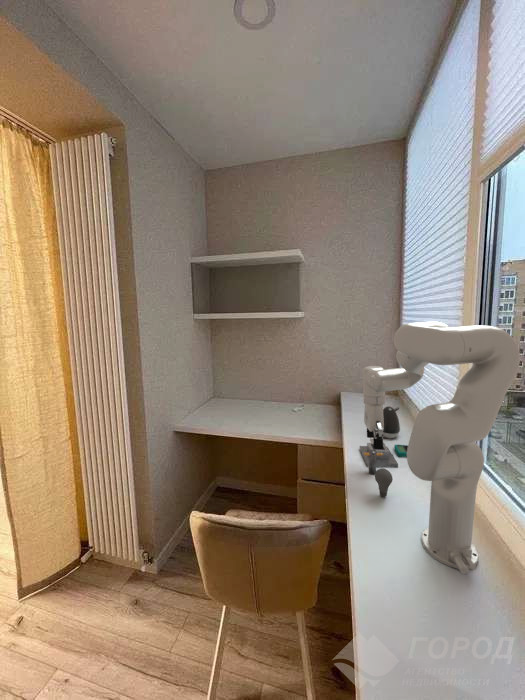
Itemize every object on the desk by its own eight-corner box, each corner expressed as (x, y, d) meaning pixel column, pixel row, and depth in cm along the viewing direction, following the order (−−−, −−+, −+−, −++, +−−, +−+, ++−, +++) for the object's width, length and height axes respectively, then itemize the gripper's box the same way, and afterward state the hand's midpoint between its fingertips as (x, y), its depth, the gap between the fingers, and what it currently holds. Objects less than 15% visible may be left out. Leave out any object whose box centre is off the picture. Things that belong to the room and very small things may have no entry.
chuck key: (364, 474, 108) (365, 453, 107) (363, 470, 111) (363, 449, 110) (383, 475, 108) (384, 453, 106) (381, 470, 110) (381, 449, 109)
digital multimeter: (436, 460, 117) (436, 454, 116) (397, 457, 120) (398, 451, 119) (429, 451, 124) (429, 445, 123) (393, 449, 127) (393, 443, 126)
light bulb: (392, 493, 97) (393, 467, 95) (391, 503, 92) (392, 476, 91) (375, 489, 99) (375, 463, 98) (373, 499, 95) (374, 472, 93)
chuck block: (398, 467, 112) (398, 456, 111) (367, 466, 114) (367, 455, 113) (385, 447, 128) (385, 436, 127) (358, 446, 130) (358, 436, 129)
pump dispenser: (404, 439, 135) (405, 409, 132) (384, 441, 133) (385, 411, 131) (391, 430, 145) (392, 402, 142) (373, 432, 143) (373, 404, 141)
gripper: (358, 393, 114) (359, 433, 115) (369, 406, 97) (370, 453, 98) (377, 393, 113) (378, 433, 114) (392, 406, 96) (392, 453, 97)
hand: (374, 442), depth 106 cm, fingers open, 9 cm apart
